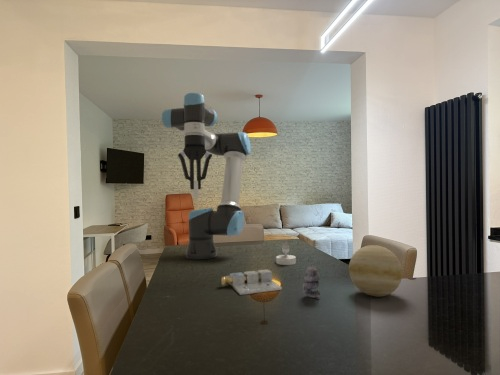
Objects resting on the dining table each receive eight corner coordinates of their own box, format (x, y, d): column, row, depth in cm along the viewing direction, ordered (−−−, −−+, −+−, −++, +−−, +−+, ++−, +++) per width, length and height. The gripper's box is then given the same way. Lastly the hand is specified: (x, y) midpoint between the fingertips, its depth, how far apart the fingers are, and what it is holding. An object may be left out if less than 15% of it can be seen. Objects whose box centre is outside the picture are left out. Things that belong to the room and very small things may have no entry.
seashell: (321, 295, 97) (320, 262, 97) (319, 301, 92) (318, 266, 92) (303, 294, 99) (303, 261, 99) (300, 300, 94) (300, 265, 94)
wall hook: (275, 243, 135) (275, 239, 145) (275, 265, 135) (276, 260, 145) (296, 243, 134) (295, 239, 144) (296, 265, 134) (295, 260, 144)
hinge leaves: (224, 278, 117) (224, 268, 117) (260, 274, 122) (259, 264, 122) (240, 295, 99) (239, 282, 99) (281, 289, 103) (281, 277, 103)
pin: (221, 284, 108) (221, 276, 108) (265, 279, 114) (264, 271, 114) (223, 286, 106) (223, 278, 106) (267, 281, 111) (267, 273, 111)
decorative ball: (347, 300, 93) (346, 248, 93) (351, 285, 106) (350, 240, 106) (404, 306, 87) (403, 251, 87) (401, 290, 101) (400, 242, 101)
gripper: (178, 133, 115) (179, 199, 115) (213, 134, 119) (214, 198, 119) (175, 136, 122) (176, 198, 122) (209, 137, 126) (210, 197, 126)
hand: (195, 198), depth 120 cm, fingers closed
